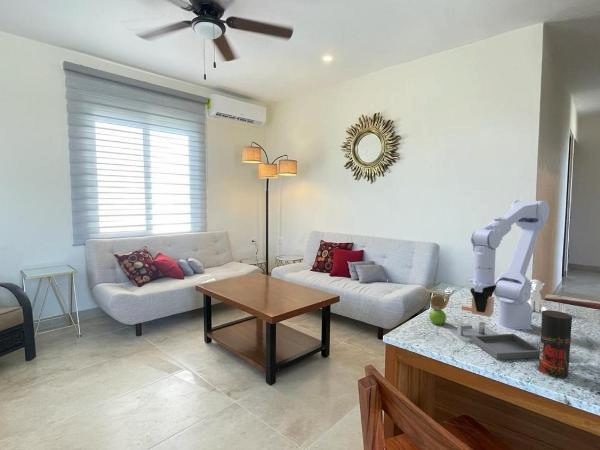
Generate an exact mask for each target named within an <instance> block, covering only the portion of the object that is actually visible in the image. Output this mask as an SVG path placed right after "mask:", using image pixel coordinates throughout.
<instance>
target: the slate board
mask: <svg viewBox="0 0 600 450" xmlns="http://www.w3.org/2000/svg"><path fill="white" fill-rule="evenodd" d="M447 330H448V331H449V332H450V333H452V334H453V335H455V336H456V337H457V338H458V339H459V340H461V341H463V342H465V341H466V342H467V341H471V336H473V335H482V334H479V333H478V332H479V327H472V329H463V335H462V336H460V335H459V334H458V333H457V330H458V328H447ZM497 334H498V333H497V332H496V331H494V330H492V329H491V328H489V327H486V326H485V334H484V335H497Z"/></svg>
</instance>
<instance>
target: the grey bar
mask: <svg viewBox="0 0 600 450" xmlns="http://www.w3.org/2000/svg"><path fill="white" fill-rule="evenodd" d="M472 328H473V325H471V324H470V323H458V324H457V329H458V330H457V333H458V334H459V335H460V336H462V335H463V329H472ZM478 328H479V332H478V333H479V334H482V335H484V334H485V328H486V322H484V321H479V322H478Z"/></svg>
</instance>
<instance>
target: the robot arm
mask: <svg viewBox="0 0 600 450" xmlns="http://www.w3.org/2000/svg"><path fill="white" fill-rule="evenodd" d="M509 208H510V209H509V210H508V211H507V212H506V213H505V214H504V215H503V216H502V217H501V216H496V217H494V219H493V220H491V221H490V223H488V224H487V225H485V226H484V227H483V228H478V229H476V230H474V231H473V232H472V235H471V237H470V242H471V245H472V251H473V252H474V264H473V266H474V268H473V278H470V279H469V282H470V283H473V285H474V287H471V288H470V294H471V295H472V298H474V301H475V306H476V310H477V312H483V313H484V312H485V309H486V305H487V301H488V298H489V296H490V297H493V295H494V296H495V298H496V300H497V301H498V303H497V305H498V306H497V319H496V320H491V323H494V324H496V325H497V326H499V327H500V328H502V329H504V330H507V331H511V330H515V331H517V330H533V329H534V328H533V327H532V323H533V322H532V321H533V320H532V319H533V312H532V308H531V306H530V304H529V303H528V302H527V301H528V300H529V298H530V296H531V287H532V283H531V282H530V281H531V280H530V279H529V278H528V277H527V276H526V274H527V271H528V269H529V265H530V262H531V259H532V256H533V254H534V250H535V248H536V244H537V242H538V239H539V235H540V233H541V230H542V229H544V228H545V227H546V225H547V224H548V223H547V222H548V219H549V216H550V213H551V211H550V205H549V203H548V202H547V201H546V200H519V199H518V200H514V201H513V202H512V203H511V204H510V207H509ZM514 224H515V225H516V226H518V227H519V228H520V229H521V232H520V234H519V237H518V241H517V244H516V246H515V250H514V253H513V255H512V258H511V261H510V263H509V266H508V269H507V270H506V271H503V272H502V273H499V274H498V276H497V278H496V280H495V276H496V275H495V274H496V273H495V272H496V251H497V248H499V246H500V245H501V241H502V240H503V238H504V237H505V236H506V235H507V234H508V233H510V231H511V230H512V225H514Z"/></svg>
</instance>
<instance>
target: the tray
mask: <svg viewBox="0 0 600 450" xmlns="http://www.w3.org/2000/svg"><path fill="white" fill-rule="evenodd" d="M470 342H471V343H472V344H473V345H475V346H477V348H479V349H481V350H482V351H484V352H485V353H486V354H488V355H489V357H492V358H493V359H494V360H496V361H501V360H502V361H503V360H504V361H505V360H522V359H527V360H528V359H539V357H540V347H538V346H536V345H535V344H532V343H530V342H529V341H527V340H525V339H523V338H522V337H520V336H518V335H517V334H514V333H504V334H503V333H502V334H500V333H497V335H473V336H471V340H470Z"/></svg>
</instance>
